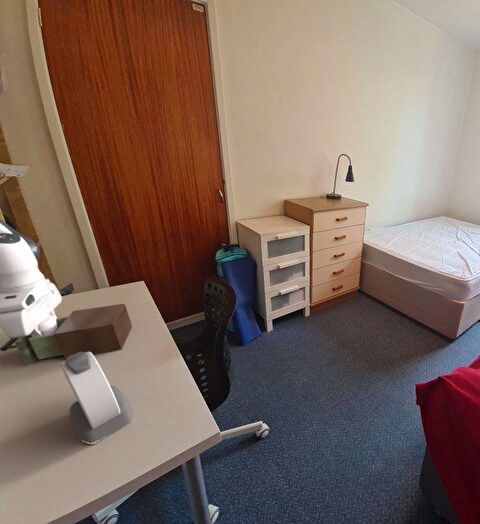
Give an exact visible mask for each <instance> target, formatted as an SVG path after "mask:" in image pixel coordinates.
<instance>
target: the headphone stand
mask: <svg viewBox="0 0 480 524" xmlns="http://www.w3.org/2000/svg"><path fill="white" fill-rule="evenodd" d="M60 367H61V370H62V372H63V373H64V376H65V378H66V380H67V382H68V385H69V386H70V388H71V390H72V392H73V394H74V396H75V398H76V401H74V403H72V404H71V406H70V408H69V418H70V425H71V428H72V430H73V432H74V434H75V436H76V437H77V436H78V437H77V438H78V439H79V438H80V439H81V440H83V441H85V442H89V443H92V442H95V441H97V440H100V439H102V438H103V437H105V436H108V435H110V434H111V435H113V434H115V433H116V432H118V431H119V430H121V429H123V428H124V427H126V426H127V425H126V424H128V425H129V424H130V423H131V422H132V421H131V420H133V409H132V406H131V404H130V402H129V399H128V397H127V395H125V394H124V393H123V392H122V390H121V389H119V387H117V386H116V385H111V384H110V383H109V381H108V378H107V377H106V375H105V373H104V371H103V369H102V367H101V365H100V364H99V362H98V360H97V358H96V357H95V355H93V354H92V353H91V352H86V353H85V352H78V353H76V354H74V355H71V356H69V357H67V359H65V360H64V361H62V362H60ZM130 421H131V422H130ZM125 425H126V426H125ZM123 426H124V427H123ZM122 427H123V428H122ZM111 435H110V436H111ZM108 437H109V436H108ZM80 439H79V440H80ZM81 440H80V441H81Z"/></svg>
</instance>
